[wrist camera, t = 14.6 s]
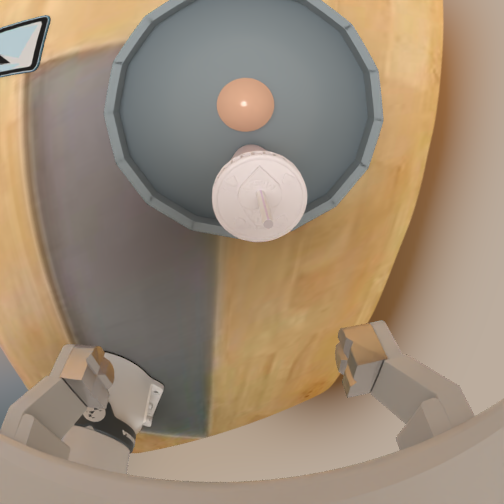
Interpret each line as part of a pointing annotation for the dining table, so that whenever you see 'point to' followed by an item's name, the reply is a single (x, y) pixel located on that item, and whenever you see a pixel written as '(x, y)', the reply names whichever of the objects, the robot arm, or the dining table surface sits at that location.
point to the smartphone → (22, 45)
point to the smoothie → (258, 195)
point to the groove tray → (241, 101)
